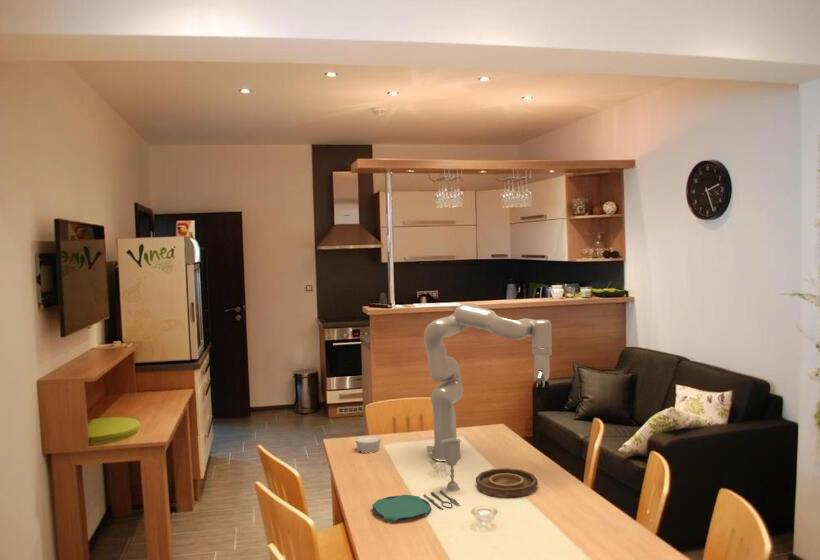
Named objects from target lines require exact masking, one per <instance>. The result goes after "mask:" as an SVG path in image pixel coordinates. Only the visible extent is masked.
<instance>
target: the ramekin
mask: <svg viewBox="0 0 820 560" xmlns="http://www.w3.org/2000/svg"><path fill="white" fill-rule="evenodd" d="M381 440H382V438H381V437H380V436H378V435H370V434H369V435H362V436H359V437H357V438H355V443H356V447H357V450H359V451H361V452H373V453H375V452H374V451H376V452H378V451H379V449H380V445H381ZM377 450H378V451H377ZM359 451H358V452H359ZM361 452H360V453H361Z"/></svg>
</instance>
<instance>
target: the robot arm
mask: <svg viewBox="0 0 820 560" xmlns="http://www.w3.org/2000/svg"><path fill="white" fill-rule="evenodd" d="M469 327H471V328H475V329H480V330H483V331H488V332H489V333H491V334H494V335H497V336H499V337H502V338H506V339H511V340H517V341H519V340H523V339H525V338H529V337H531V340H532V341H531V342H532V343H531V346H532V356H533V357H534V358H533V359H534V360H533V361H534V362H533V363H534V364H533V381H535V382H536V397H537V398H543V399H544V398H546V393H548V392H550V382H549V378H550V371H551V370H550V356H553V345H552V343H553V341H552V335H553V334H552V333H553V332H552V331H553V330H552V322H551V321H550V320H549V319H532V318H528V317H527V318H525V317H524V318H520V319H517V320H515V319H509V318H505V317H503V316H499V315H498V314H496V312H495V311H494V310H492V309H488V308H483V307H480V306H479V305H478V304H476V303H474V302H467V303H463V304H460V305H458V306H456V307H455V309H454V311H453V313H452V314H450V315H448V316H444V317H441V318H437V319H435V320H433V321H431V322H430V323H429V324H428V325H426V328H425V329H424V332H423V342H424V347H425V352H426V359H427V363H428V369H429V375H430V377H431V379H432V380H433V381H435V382H439V383H440V382H441V384H439V385H437V386H436V387H435V388H433V390H432V392H431V393H430V394H431V395H430V400H431V401H430V402H431V406H432V412H433V434H434V435H433V436H434V437H433V439H434V441H433V442H434V446H432V445H427V446H426V451H427V452H428V453H432V454H431V455H430V456H431V459H432V460H433V459H439V460H445V457H444V455H443V443H442V440H443V439H448V438H455V439H458V437H457V418H456V416H457V415H456V410H455V406H454V404H455V403H457V402H458V401H460V400H461V399H462V397H463V395H464V386H463V380H462V374H461V369H460V366H459V362H457V359H455V358H454V357H452V356H449V355H448V353H447V348H446V345H445V343H444V339H445V338H450V337H452V336H455V335H457V334H459V333H461V332H462V331H464V330H465V329H466V328H469ZM461 457H462V454H461V453H460V456H459V459H458V461H459V460H460V459H461Z"/></svg>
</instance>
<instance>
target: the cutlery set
mask: <svg viewBox="0 0 820 560" xmlns="http://www.w3.org/2000/svg"><path fill="white" fill-rule="evenodd" d="M439 493H440V494H441V495H442V496H444V498H446V499H447V498H448V499H447V500H449V501H450V502H449V501H444V500H442V499H441V497H440V496H439V495H438V494H436V493H435V492H434V491H431V492H430V494H431V495H432V496H434V497H435V498H437V499H438V500H439V501H440V502H441V506H440V505H439V504H438V503H437V502H436V501H435V499H433V498H431V497H429V496H428V495H426V493H424V494H423V497H425V498H427V499H428V500H429V501H427V500H425V499H424V498H421V497H420V496H418V495H413V494H412V495H411V494H401V495H394V496H388V497H385V498H384V497H383V498H380V499H377V500H376V501H375V502H374V503H373V504H372V505H371V507H372V511H373V512H374V514H375V515H377V516H379V517H381V518H383V519H385V521H386V522H388V523H389V522H390V523H389V524H393V523H394V522H396V521H403V520H404V521H406V520H413V519H418V518H420V517H422V516H424V515H427V516H428V515H429V513H431V512H432V506H431V504H430V503H429V502H430V501H431V502H433V503H432V504H433V505H434V506H435V507H436V508H438V509H439V510H441V509H442V511H443V510H444V508H443V507H445V508H447V509H448V508H449V509H450V508H453V505H454V506H456V507H461V506H462V505H461V504H460V503H459V502H458V501H457V500H456V499H455V498H453V497H450V496H448V495H447V494H446V493H445V492H444V491H443V490H439ZM444 504H449V505H450V504H451V505H450V507H449V506H445V505H444ZM442 506H443V507H442Z"/></svg>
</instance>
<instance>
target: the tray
mask: <svg viewBox="0 0 820 560" xmlns="http://www.w3.org/2000/svg"><path fill="white" fill-rule="evenodd" d="M475 483H476V489H477V490H478V491H479V492H480V493H482V494H484V495H487V496H489V497H494V498H501V499H515V498H516V499H517V498H523V496H524V497H528V496H529V495H532V494H534V493H535V492H536V491H537V486H538V484H539V483H538V478H537V477H536V476H535V475H534V474H533V473H531V472H529V471H525V470H524V469H523V470H522V469H518V468H517V469H516V468H509V467H507V468H504V467H503V468H492V469H488V470H485V471H482V472H480V473H479V474H478V475H477V476H476V477H475ZM533 492H534V493H533Z"/></svg>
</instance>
